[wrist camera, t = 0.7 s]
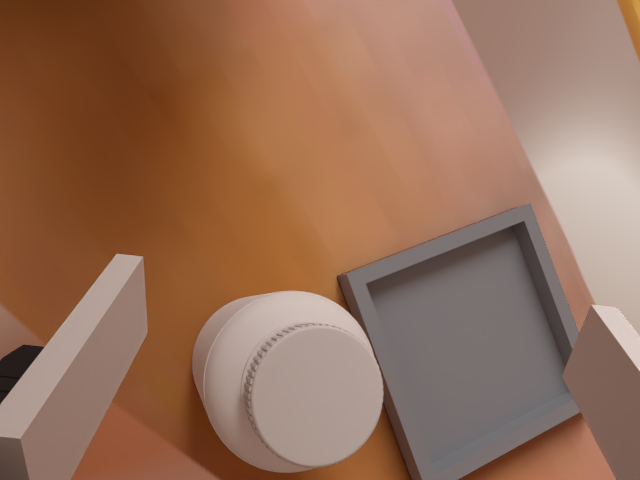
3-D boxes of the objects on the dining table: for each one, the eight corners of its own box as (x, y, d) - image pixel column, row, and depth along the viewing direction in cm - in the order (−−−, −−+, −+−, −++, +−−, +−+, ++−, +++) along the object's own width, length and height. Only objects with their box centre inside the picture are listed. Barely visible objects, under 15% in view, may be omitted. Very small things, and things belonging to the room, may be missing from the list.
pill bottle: (336, 380, 35) (449, 431, 21) (227, 446, 33) (270, 556, 19) (282, 273, 35) (358, 252, 21) (168, 333, 33) (166, 354, 19)
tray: (337, 276, 36) (346, 274, 34) (512, 208, 41) (530, 203, 39) (413, 485, 36) (427, 495, 34) (582, 394, 40) (603, 399, 38)
